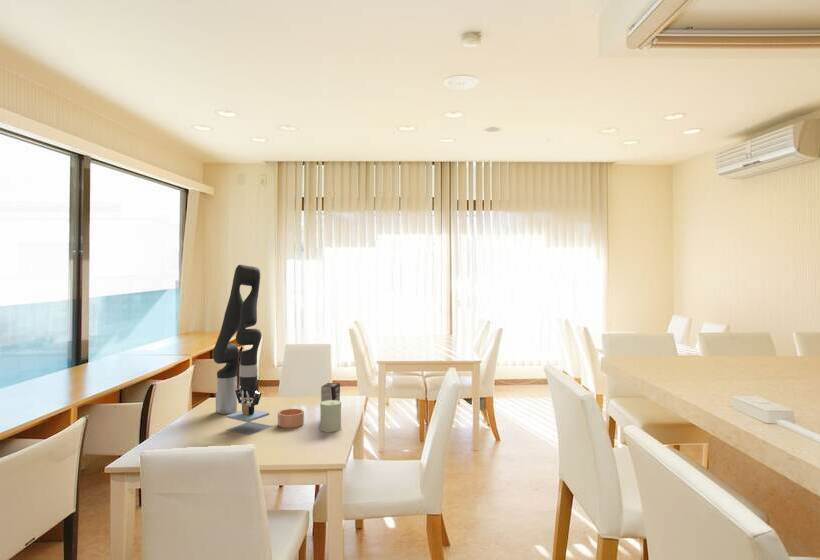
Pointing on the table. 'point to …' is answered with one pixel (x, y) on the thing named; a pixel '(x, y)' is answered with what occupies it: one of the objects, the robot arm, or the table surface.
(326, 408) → the can
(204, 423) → the table surface
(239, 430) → the mat
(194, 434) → the table surface
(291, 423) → the bowl
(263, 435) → the table surface
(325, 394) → the coffee box
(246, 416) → the lid
